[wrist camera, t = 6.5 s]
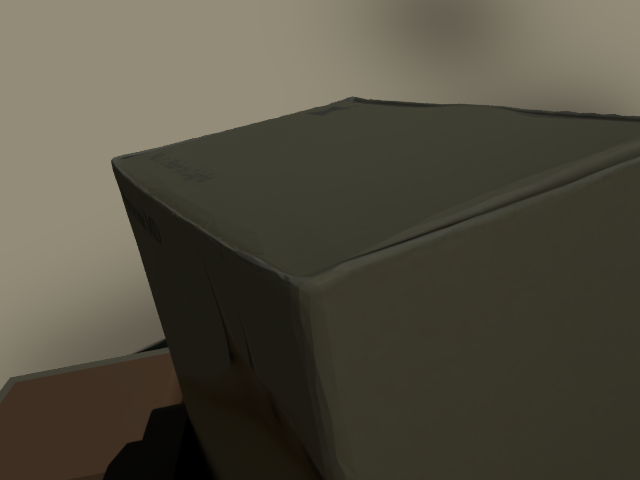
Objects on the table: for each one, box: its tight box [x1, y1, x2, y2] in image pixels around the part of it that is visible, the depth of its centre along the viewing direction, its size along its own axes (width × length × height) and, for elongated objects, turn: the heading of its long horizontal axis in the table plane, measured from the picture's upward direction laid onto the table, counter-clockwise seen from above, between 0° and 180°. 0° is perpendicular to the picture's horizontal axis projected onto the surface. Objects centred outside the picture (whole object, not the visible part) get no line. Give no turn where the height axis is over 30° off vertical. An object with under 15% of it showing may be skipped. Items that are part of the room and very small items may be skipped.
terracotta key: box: [0, 353, 185, 480], centre depth 22 cm, size 7×7×2 cm
